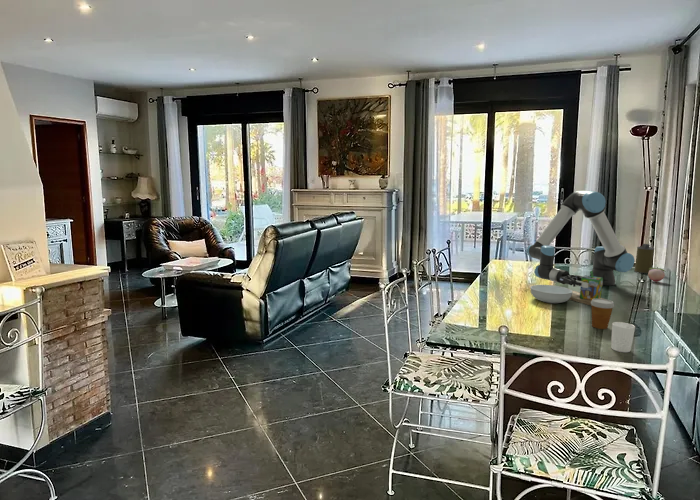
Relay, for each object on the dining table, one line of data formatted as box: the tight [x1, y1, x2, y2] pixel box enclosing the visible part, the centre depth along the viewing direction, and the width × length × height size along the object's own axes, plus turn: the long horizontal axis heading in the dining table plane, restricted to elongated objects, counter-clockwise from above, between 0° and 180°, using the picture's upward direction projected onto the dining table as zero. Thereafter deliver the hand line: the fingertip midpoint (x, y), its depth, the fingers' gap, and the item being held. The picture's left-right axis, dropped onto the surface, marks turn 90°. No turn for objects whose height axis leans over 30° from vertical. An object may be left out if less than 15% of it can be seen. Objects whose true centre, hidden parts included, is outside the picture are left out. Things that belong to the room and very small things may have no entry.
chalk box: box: [579, 270, 603, 300], centre depth 269 cm, size 9×9×15 cm
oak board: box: [569, 290, 608, 306], centre depth 276 cm, size 14×24×2 cm, turn 29°
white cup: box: [610, 321, 636, 353], centre depth 198 cm, size 8×8×10 cm
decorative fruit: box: [647, 266, 666, 283], centre depth 322 cm, size 9×8×10 cm
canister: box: [633, 243, 655, 274], centre depth 352 cm, size 11×10×20 cm
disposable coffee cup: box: [590, 298, 615, 330], centre depth 226 cm, size 10×10×12 cm
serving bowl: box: [529, 284, 574, 304], centre depth 268 cm, size 21×21×7 cm
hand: (595, 284), depth 267 cm, fingers closed on chalk box, 11 cm apart
